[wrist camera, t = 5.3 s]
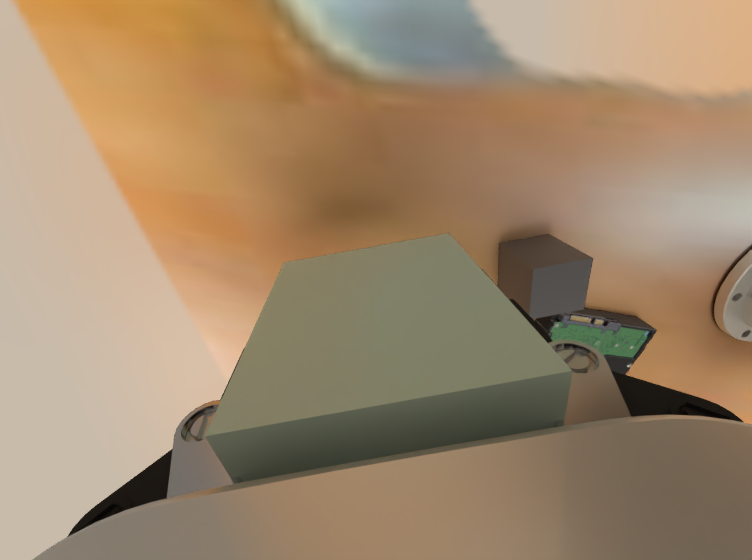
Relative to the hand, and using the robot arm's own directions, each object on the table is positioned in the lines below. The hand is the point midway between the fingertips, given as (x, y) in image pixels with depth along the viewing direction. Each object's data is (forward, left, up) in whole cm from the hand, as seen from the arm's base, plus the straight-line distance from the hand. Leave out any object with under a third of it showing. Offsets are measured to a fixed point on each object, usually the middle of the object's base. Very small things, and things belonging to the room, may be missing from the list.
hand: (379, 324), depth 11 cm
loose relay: (-12, +6, -13) cm, 19 cm away
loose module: (0, 0, -1) cm, 1 cm away
